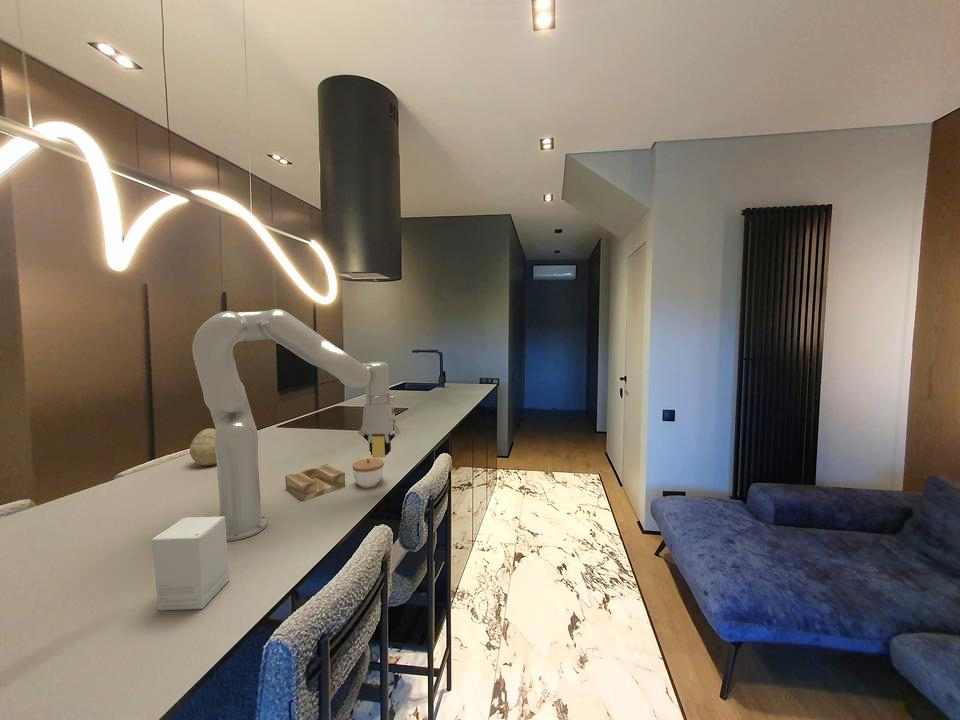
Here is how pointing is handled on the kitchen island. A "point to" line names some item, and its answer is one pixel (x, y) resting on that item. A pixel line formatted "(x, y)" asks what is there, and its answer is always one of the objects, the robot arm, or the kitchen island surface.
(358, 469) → the lidded jar
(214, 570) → the supplement box
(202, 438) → the fossilized egg
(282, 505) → the kitchen island surface
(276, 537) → the kitchen island surface
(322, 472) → the notched board
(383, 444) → the yellow upright block
